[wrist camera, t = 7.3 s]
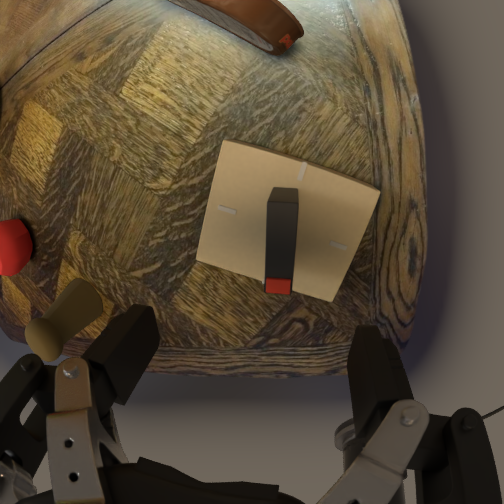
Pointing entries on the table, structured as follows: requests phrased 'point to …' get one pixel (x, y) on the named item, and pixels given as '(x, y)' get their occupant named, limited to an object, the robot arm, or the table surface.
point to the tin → (251, 21)
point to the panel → (309, 216)
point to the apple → (14, 246)
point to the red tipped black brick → (281, 240)
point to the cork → (63, 319)
